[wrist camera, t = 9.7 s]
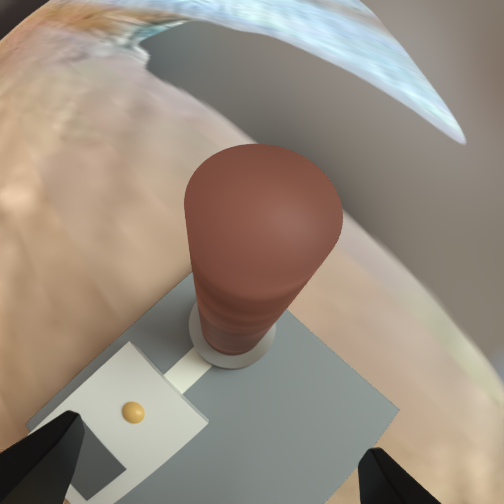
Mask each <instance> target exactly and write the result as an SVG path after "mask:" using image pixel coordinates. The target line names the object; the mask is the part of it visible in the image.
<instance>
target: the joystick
mask: <svg viewBox="0 0 504 504" xmlns="http://www.w3.org/2000/svg"><path fill="white" fill-rule="evenodd" d="M184 209H185V219H186V227H187V235H188V243H189V251H190V258H191V265H192V272H193V279H194V286H195V293H196V299H197V301H196V303H195V304H194V306H193V308H192V310H191V313H190V317H189V332H190V336H191V340H192V342H193V345H194V347H195V349H196V350H197V352H198V353H199V355H200V356H201V357H202V358H203V359H204V360H205V361H207V362H208V363H209V364H211V365H213V366H215V367H218V368H221V369H226V370H237V369H242V368H246V367H248V366H250V365H252V364H254V363H255V362H257V361H258V360H259V359H260V358H261V357H263V356H264V355H265V354H266V352H267V351H268V350H269V348H270V347H271V345H272V343H273V340H274V337H275V332H276V321H277V320H278V319H279V317H280V316H281V315H282V314H283V313H284V311H285V310H286V309H287V308H288V306H289V305H290V304H291V303H292V301H293V300H294V299H295V298H296V296H297V295H298V294H299V292H300V291H301V290H302V289H303V287H304V286H305V285H306V284H307V282H308V281H309V280H310V278H311V277H312V276H313V275H314V273H315V272H316V271H317V269H318V268H319V267H320V265H321V264H322V263H323V261H324V260H325V259H326V257H327V256H328V255H329V253H330V252H331V251H332V249H333V248H334V246H335V245H336V243H337V241H338V239H339V236H340V234H341V229H342V223H343V212H342V206H341V201H340V198H339V196H338V193H337V191H336V189H335V188H334V186H333V184H332V182H331V181H330V180H329V179H328V177H327V176H326V175H325V174H324V172H322V170H320V169H319V168H318V167H317V166H316V165H315V164H314V163H312V162H311V161H309V160H308V159H306V158H305V157H303V156H301V155H299V154H297V153H295V152H293V151H290V150H288V149H285V148H281V147H277V146H272V145H266V144H246V145H239V146H234V147H231V148H228V149H225V150H222V151H220V152H218V153H216V154H214V155H213V156H211V157H210V158H208V159H207V160H205V161H204V162H203V163H202V164H201V165H200V166H199V167H198V168H197V170H196V171H195V172H194V174H193V175H192V177H191V178H190V180H189V183H188V185H187V188H186V192H185V199H184Z"/></svg>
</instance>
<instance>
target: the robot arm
mask: <svg viewBox="0 0 504 504" xmlns="http://www.w3.org/2000/svg"><path fill="white" fill-rule="evenodd" d="M84 436H85V428H84V424H83V421H82V418H81V415H80V414H79V413H77V412H74V411H71V410H67V411H65V412H63V413H62V414H60V415H59V416H57V417H56V418H54V419H53V420H51V421H50V422H48V423H47V424H45V425H43V426H42V427H40V428H39V429H37V430H36V431H34V432H33V433H31V434H30V435H28V436H26V437H25V438H23V439H22V440H20V441H19V442H17V443H15V444H14V445H12V446H11V447H9V448H7V449H6V450H4V451H3V452H1V453H0V504H63V501H64V498H65V496H66V493H67V490H68V488H69V485H70V483H71V480H72V478H73V475H74V472H75V469H76V465H77V461H78V458H79V454H80V450H81V447H82V443H83V439H84ZM358 475H359V489H360V502H361V504H441V503H440V502H439V501H438V500H437V499H436V498H435V497H433V496H432V495H431V494H430V493H429V492H428V491H427V490H426V489H425V488H423V487H422V486H421V485H420V484H419V483H418V482H417V481H416V480H415V479H414V478H413V477H412V476H410V475H409V474H408V473H407V472H406V471H405V470H404V469H403V468H402V467H401V466H400V465H399V464H398V463H397V462H396V461H394V460H393V459H392V458H391V457H390V456H389V455H388V454H387V453H386V452H385V451H384V450H383V449H382V448H380V447H377V448H369V449H368V450H367V451H366V452H365V454H364V455H363V457H362V458H361V460H360V461H359V463H358Z"/></svg>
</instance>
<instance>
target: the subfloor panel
mask: <svg viewBox="0 0 504 504" xmlns="http://www.w3.org/2000/svg"><path fill="white" fill-rule="evenodd" d="M196 301H197V299H196V293H195V286H194V279H193V272H191V273H190V274H189V275H188V276H187V277H186V278H184V279H183V280H182V281H181V282H180V283H179V284H178V285H176V286H175V287H174V288H173V289H172V290H171V291H170V292H169V293H167V294H166V295H165V296H164V297H163V298H162V299H161V300H159V301H158V302H157V303H156V304H155V305H154V306H153V307H152V308H150V309H149V310H148V311H147V312H146V313H145V314H144V315H143V316H141V317H140V318H139V319H138V320H137V321H136V322H135V323H134V324H133V325H131V326H130V327H129V328H128V329H127V330H126V331H125V332H124V333H123V334H121V335H120V336H119V337H118V338H117V339H116V340H115V341H114V342H113V343H112V344H110V345H109V346H108V347H107V348H106V349H105V350H104V351H103V352H102V353H101V354H99V355H98V356H97V357H96V358H95V359H94V360H93V361H92V362H91V363H90V364H89V365H88V366H86V367H85V368H84V369H83V370H82V371H81V372H80V373H79V374H78V375H77V376H76V377H75V378H73V379H72V380H71V381H70V382H69V383H68V384H67V385H66V386H65V387H64V388H63V389H62V390H61V391H60V392H59V393H57V394H56V395H55V396H54V397H53V398H52V399H51V400H50V401H49V402H48V403H47V404H46V405H45V406H44V407H43V408H42V409H41V410H40V411H39V412H37V413H36V414H35V415H34V416H33V417H32V418H31V419H30V420H29V421H28V422H27V423H26V424H25V425H26V426H27V428H28V429H29V431H30V432H32V431H33V430H34V429H35V428H36V427H37V426H38V425H39V424H40V423H41V422H42V421H43V420H44V419H45V418H46V417H47V416H49V415H50V414H51V413H52V412H53V411H54V410H55V409H56V408H57V407H58V406H59V405H60V404H61V403H62V402H64V401H65V400H66V399H67V398H68V397H69V396H70V395H71V394H72V393H73V392H74V391H75V390H76V389H78V388H79V387H80V386H81V385H82V384H83V383H84V382H85V381H86V380H87V379H88V378H89V377H91V376H92V375H93V374H94V373H95V372H96V371H97V370H98V369H99V368H100V367H101V366H103V365H104V364H105V363H106V362H107V361H108V360H109V359H110V358H111V357H112V356H113V355H115V354H116V353H117V352H118V351H119V350H120V349H121V348H122V347H123V346H124V345H126V344H127V343H128V342H129V341H130V342H131V343H133V344H134V345H135V346H137V347H138V348H140V349H141V350H142V352H143V353H144V354H145V355H146V356H147V357H148V358H149V359H150V361H151V362H152V363H153V364H154V365H155V366H156V367H157V368H158V369H159V370H160V371H161V373H162V374H163V375H164V376H165V377H166V378H167V379H168V380H169V381H170V382H171V383H172V384H173V385H174V386H175V387H176V388H177V389H178V390H179V391H180V392H181V393H182V394H183V395H184V396H185V397H186V398H187V399H188V400H189V401H190V402H191V403H192V404H193V405H194V406H195V407H196V408H197V409H198V410H199V411H200V412H201V413H202V414H203V415H205V416H206V417H207V418H208V419H209V422H208V424H207V425H206V426H205V427H204V428H203V429H202V430H201V431H200V432H199V433H198V434H196V435H195V436H194V437H193V438H192V439H191V440H190V441H189V442H188V443H186V444H185V445H184V446H183V447H182V448H181V449H180V450H179V451H177V452H176V453H175V454H174V455H173V456H172V457H171V458H169V459H168V460H167V461H166V462H165V463H164V464H162V465H161V466H160V467H159V468H158V469H156V470H155V471H154V472H153V473H152V474H150V475H149V476H148V477H147V478H146V479H144V480H143V481H142V482H141V483H139V484H138V485H137V486H136V487H134V488H133V489H132V490H131V491H129V492H128V493H127V494H126V495H124V496H123V497H122V498H120V499H119V500H118V501H116V502H115V503H114V504H324V503H325V502H326V501H327V500H328V499H329V498H330V497H331V496H332V495H333V493H334V492H335V491H336V490H337V489H338V488H339V487H340V486H341V485H342V484H343V483H344V481H345V480H346V479H347V478H348V477H349V476H350V475H351V473H352V472H353V471H354V470H355V469H356V467H357V466H358V463H359V461H360V460H361V458H362V457H363V455H364V454H365V452H366V451H367V450H368V449H369V448H373V446H374V445H375V444H376V442H377V441H378V440H379V438H380V437H381V436H382V434H383V433H384V432H385V430H386V429H387V427H388V426H389V425H390V423H391V422H392V420H393V419H394V417H395V416H396V414H397V413H398V411H399V410H400V409H399V408H398V407H396V406H395V405H394V404H393V403H392V402H391V401H389V400H388V399H387V398H386V397H385V396H384V395H383V394H381V393H380V392H379V391H378V390H377V389H376V388H375V387H373V386H372V385H371V384H370V383H369V382H368V381H367V380H365V379H364V378H363V377H362V376H361V375H360V374H359V373H357V372H356V371H355V370H354V369H353V368H352V367H351V366H350V365H348V364H347V363H346V362H345V361H344V360H343V359H342V358H341V357H339V356H338V355H337V354H336V353H335V352H334V351H333V350H332V349H330V348H329V347H328V346H327V345H326V344H325V343H324V342H323V341H321V340H320V339H319V338H318V337H317V336H316V335H315V334H314V333H313V332H311V331H310V330H309V329H308V328H307V327H306V326H305V325H304V324H303V323H301V322H300V321H299V320H298V319H297V318H296V317H295V316H294V315H293V314H291V313H290V312H289V311H288V310H287V309H286V310H285V311H284V313H283V314H282V315H281V316H280V317H279V319H278V320H277V321H276V332H275V337H274V340H273V343H272V345H271V347H270V348H269V350H268V351H267V352H266V354H265V355H264V356H263V357H261V358H260V359H259V360H258V361H257V362H255V363H254V364H252V365H250V366H248V367H246V368H242V369H237V370H226V369H221V368H218V367H215V366H213V365H211V364H209V363H208V362H207V361H205V360H204V359H203V358H202V357H201V356H200V355H199V353H198V352H197V350H196V349H195V347H194V345H193V342H192V340H191V336H190V332H189V317H190V313H191V310H192V308H193V306H194V304H195V303H196Z"/></svg>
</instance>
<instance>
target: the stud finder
mask: <svg viewBox="0 0 504 504" xmlns="http://www.w3.org/2000/svg"><path fill="white" fill-rule="evenodd" d="M67 410H71V411H74V412H77V413H79V414H80V415H81V418H82V421H83V424H84V428H85V436H84V439H83V443H82V447H81V450H80V454H79V458H78V461H77V465H76V469H75V472H74V475H73V478H72V480H71V483H70V485H69V488H68V490H67V493H66V496H65V498H66V499H67V500H68V501H69V502H70V504H114V503H115V502H116V501H118V500H119V499H120V498H122V497H123V496H124V495H126V494H127V493H128V492H129V491H131V490H132V489H133V488H134V487H136V486H137V485H138V484H139V483H141V482H142V481H143V480H144V479H146V478H147V477H148V476H149V475H150V474H152V473H153V472H154V471H155V470H156V469H158V468H159V467H160V466H161V465H162V464H164V463H165V462H166V461H167V460H168V459H169V458H171V457H172V456H173V455H174V454H175V453H176V452H177V451H179V450H180V449H181V448H182V447H183V446H184V445H185V444H186V443H188V442H189V441H190V440H191V439H192V438H193V437H194V436H195V435H196V434H198V433H199V432H200V431H201V430H202V429H203V428H204V427H205V426H206V425H207V424H208V422H209V419H208V418H207V417H206V416H205V415H203V414H202V413H201V412H200V411H199V410H198V409H197V408H196V407H195V406H194V405H193V404H192V403H191V402H190V401H189V400H188V399H187V398H186V397H185V396H184V395H183V394H182V393H181V392H180V391H179V390H178V389H177V388H176V387H175V386H174V385H173V384H172V383H171V382H170V381H169V380H168V379H167V378H166V377H165V376H164V375H163V374H162V373H161V371H160V370H159V369H158V368H157V367H156V366H155V365H154V364H153V363H152V362H151V361H150V359H149V358H148V357H147V356H146V355H145V354H144V353H143V352H142V350H141V349H140V348H138V347H137V346H135V345H134V344H133V343H131V342H130V341H129V342H128V343H127V344H126V345H124V346H123V347H122V348H121V349H120V350H119V351H118V352H117V353H116V354H115V355H113V356H112V357H111V358H110V359H109V360H108V361H107V362H106V363H105V364H104V365H103V366H101V367H100V368H99V369H98V370H97V371H96V372H95V373H94V374H93V375H92V376H91V377H89V378H88V379H87V380H86V381H85V382H84V383H83V384H82V385H81V386H80V387H79V388H78V389H76V390H75V391H74V392H73V393H72V394H71V395H70V396H69V397H68V398H67V399H66V400H65V401H64V402H62V403H61V404H60V405H59V406H58V407H57V408H56V409H55V410H54V411H53V412H52V413H51V414H50V415H49V416H47V417H46V418H45V419H44V420H43V421H42V422H41V423H40V424H39V425H38V426H37V427H36V428H35V429H34V430H33V431H32V432H30V433H29V434H28V435H30V434H31V433H33V432H34V431H36V430H37V429H39V428H40V427H42V426H43V425H45V424H47V423H48V422H50V421H51V420H53V419H54V418H56V417H57V416H59V415H60V414H62V413H63V412H65V411H67ZM28 435H27V436H28Z"/></svg>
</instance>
